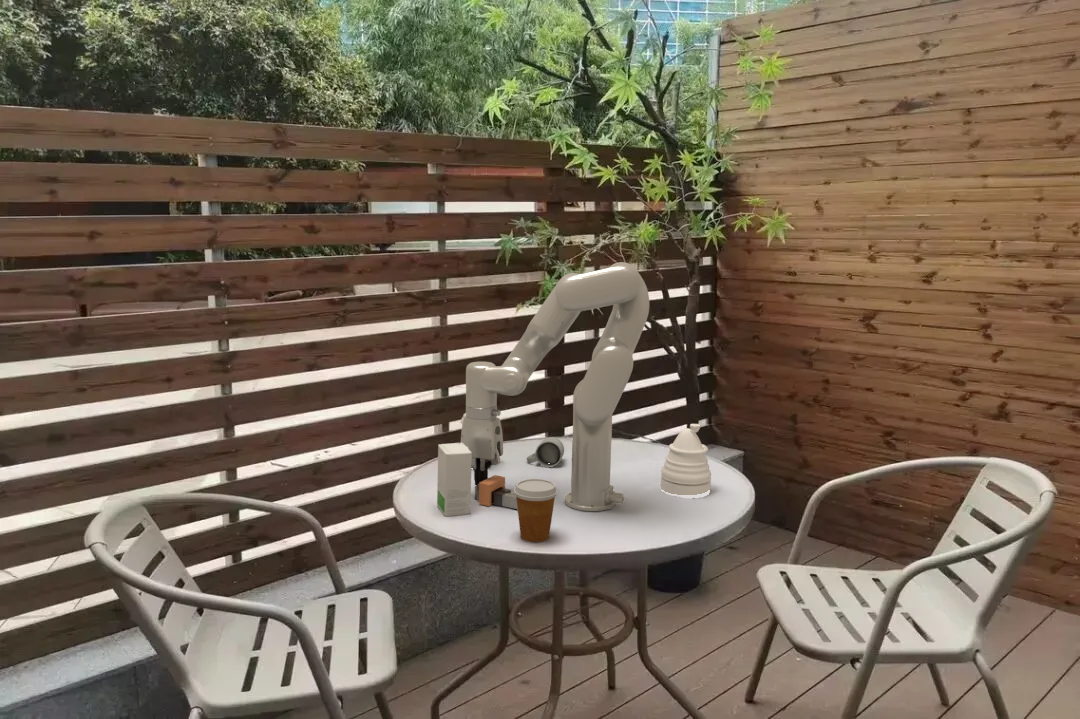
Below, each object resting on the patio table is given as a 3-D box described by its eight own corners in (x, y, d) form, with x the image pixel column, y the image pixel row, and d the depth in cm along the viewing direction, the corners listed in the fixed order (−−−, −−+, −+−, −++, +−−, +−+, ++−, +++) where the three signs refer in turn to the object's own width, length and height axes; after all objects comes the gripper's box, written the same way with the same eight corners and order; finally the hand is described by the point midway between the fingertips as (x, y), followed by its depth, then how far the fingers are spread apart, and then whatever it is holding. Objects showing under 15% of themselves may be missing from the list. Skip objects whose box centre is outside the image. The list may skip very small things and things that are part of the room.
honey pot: (719, 490, 213) (723, 423, 210) (693, 502, 204) (697, 432, 201) (677, 479, 222) (680, 415, 219) (650, 490, 212) (653, 423, 209)
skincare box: (436, 505, 198) (436, 443, 196) (463, 502, 201) (463, 441, 198) (445, 517, 190) (445, 453, 188) (472, 514, 193) (472, 451, 190)
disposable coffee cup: (506, 541, 177) (507, 488, 175) (522, 526, 186) (523, 475, 184) (547, 548, 174) (548, 494, 172) (562, 532, 183) (563, 481, 181)
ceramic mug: (564, 460, 237) (565, 434, 236) (561, 468, 229) (561, 442, 228) (528, 458, 239) (528, 433, 237) (524, 466, 231) (524, 440, 229)
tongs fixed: (473, 499, 203) (473, 486, 203) (480, 495, 206) (480, 483, 205) (539, 513, 194) (540, 500, 193) (546, 509, 197) (546, 496, 196)
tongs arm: (476, 500, 201) (476, 489, 201) (480, 498, 203) (480, 487, 202) (537, 514, 193) (537, 502, 193) (541, 511, 195) (541, 499, 194)
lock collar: (478, 503, 199) (479, 482, 198) (494, 495, 205) (494, 475, 204) (489, 506, 198) (489, 484, 197) (504, 497, 204) (504, 477, 203)
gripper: (515, 413, 199) (514, 485, 202) (464, 405, 206) (464, 475, 209) (499, 419, 193) (498, 493, 196) (447, 411, 200) (447, 483, 203)
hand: (481, 483), depth 203 cm, fingers closed
